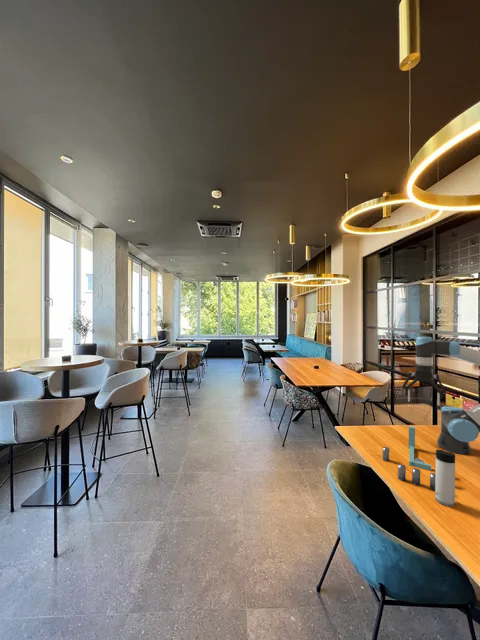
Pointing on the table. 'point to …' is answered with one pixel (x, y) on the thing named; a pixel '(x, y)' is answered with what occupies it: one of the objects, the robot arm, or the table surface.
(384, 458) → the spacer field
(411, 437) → the teal bent bar
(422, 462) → the hexagonal star block
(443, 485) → the travel mug
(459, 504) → the table surface
